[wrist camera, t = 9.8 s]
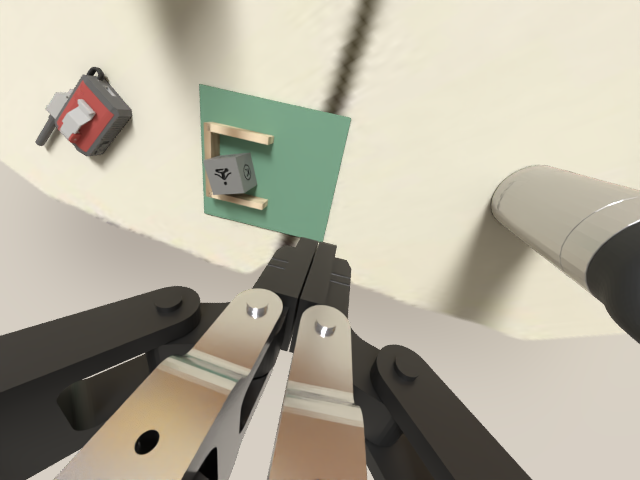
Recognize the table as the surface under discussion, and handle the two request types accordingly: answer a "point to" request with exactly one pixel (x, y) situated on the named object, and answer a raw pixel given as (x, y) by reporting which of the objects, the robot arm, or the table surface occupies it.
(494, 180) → the table surface
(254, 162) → the green mat
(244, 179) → the dice cube
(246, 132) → the wooden u-shaped frame
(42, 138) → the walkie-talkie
